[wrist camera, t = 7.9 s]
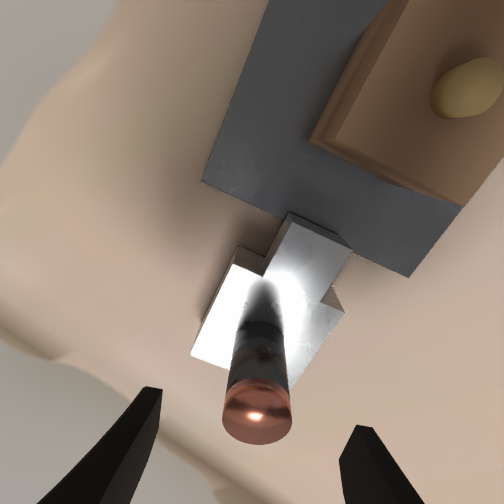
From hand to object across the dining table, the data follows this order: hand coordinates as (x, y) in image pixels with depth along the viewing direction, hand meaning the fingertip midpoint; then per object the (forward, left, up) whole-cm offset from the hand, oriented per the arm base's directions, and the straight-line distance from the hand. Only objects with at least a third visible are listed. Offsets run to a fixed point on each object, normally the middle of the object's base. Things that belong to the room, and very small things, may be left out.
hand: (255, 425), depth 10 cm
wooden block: (0, -12, -6) cm, 14 cm away
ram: (0, -2, -7) cm, 7 cm away
